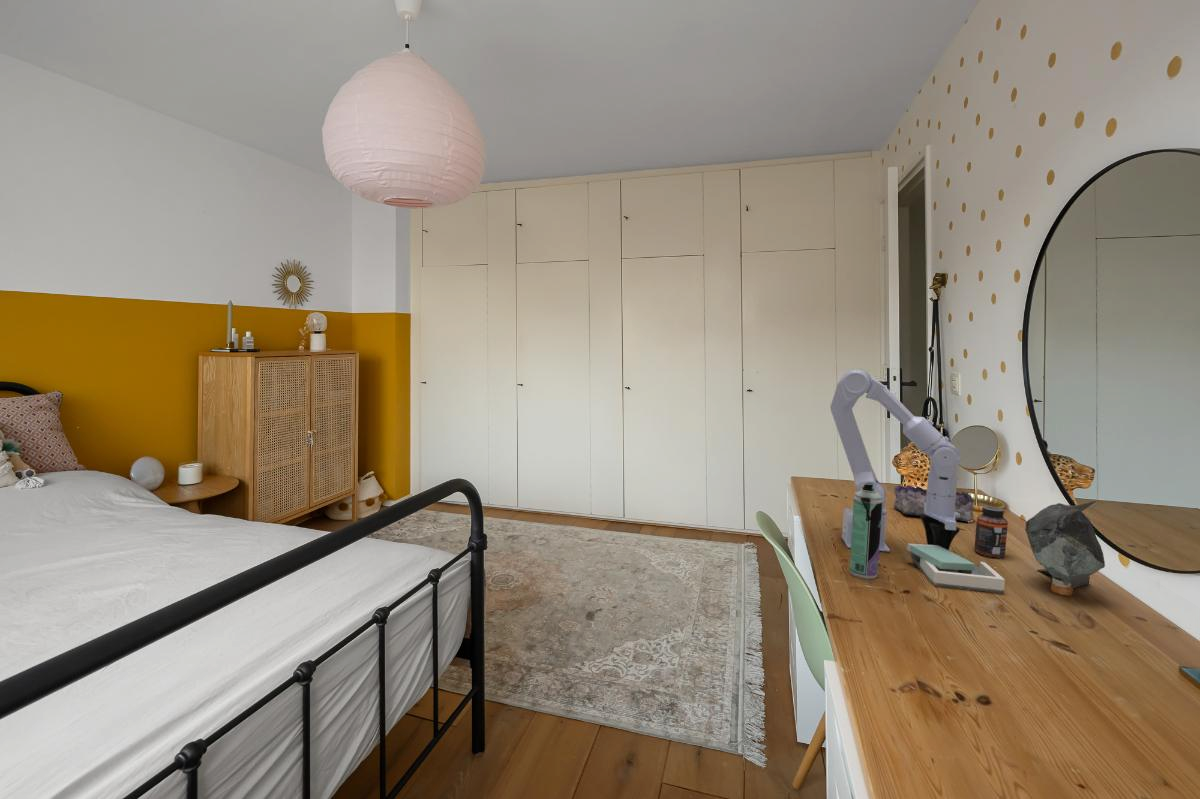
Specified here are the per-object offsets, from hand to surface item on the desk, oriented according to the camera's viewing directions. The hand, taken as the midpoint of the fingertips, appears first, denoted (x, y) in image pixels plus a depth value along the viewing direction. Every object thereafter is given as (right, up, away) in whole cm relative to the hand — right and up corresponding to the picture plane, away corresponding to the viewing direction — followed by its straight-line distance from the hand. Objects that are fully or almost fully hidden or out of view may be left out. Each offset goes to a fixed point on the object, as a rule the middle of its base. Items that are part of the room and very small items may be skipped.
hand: (936, 549), depth 124 cm
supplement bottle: (+14, -2, +2) cm, 14 cm away
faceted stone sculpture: (+16, -4, -16) cm, 22 cm away
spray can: (-22, -3, -10) cm, 25 cm away
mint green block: (-5, -1, -9) cm, 11 cm away
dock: (-3, -3, -10) cm, 11 cm away
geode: (+19, +1, +31) cm, 36 cm away
